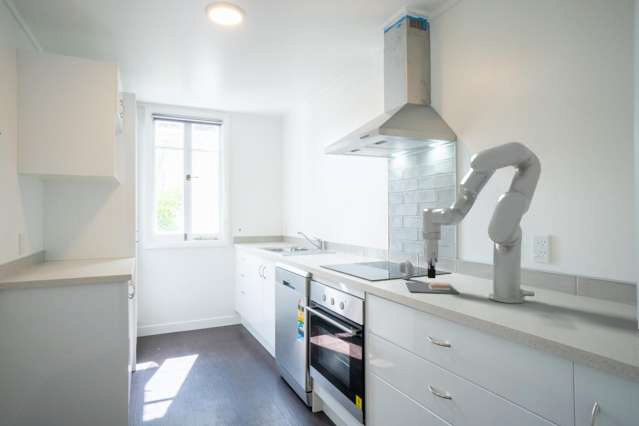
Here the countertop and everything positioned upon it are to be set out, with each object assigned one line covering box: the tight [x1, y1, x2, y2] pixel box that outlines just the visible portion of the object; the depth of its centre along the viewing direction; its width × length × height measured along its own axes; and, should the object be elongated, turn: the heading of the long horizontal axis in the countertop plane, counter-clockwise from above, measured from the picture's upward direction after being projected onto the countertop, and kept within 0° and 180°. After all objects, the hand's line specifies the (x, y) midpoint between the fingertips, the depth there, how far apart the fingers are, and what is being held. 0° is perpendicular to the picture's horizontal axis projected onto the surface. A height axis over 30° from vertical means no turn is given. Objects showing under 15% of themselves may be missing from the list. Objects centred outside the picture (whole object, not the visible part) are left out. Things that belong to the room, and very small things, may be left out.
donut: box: [397, 259, 415, 280], centre depth 185 cm, size 10×3×10 cm, turn 27°
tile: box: [428, 281, 452, 290], centre depth 161 cm, size 8×2×7 cm
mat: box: [405, 281, 460, 295], centre depth 163 cm, size 20×20×1 cm
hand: (431, 277), depth 161 cm, fingers closed
